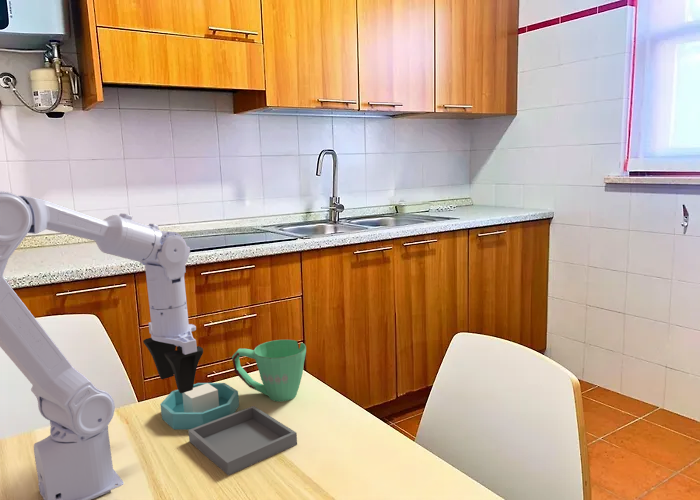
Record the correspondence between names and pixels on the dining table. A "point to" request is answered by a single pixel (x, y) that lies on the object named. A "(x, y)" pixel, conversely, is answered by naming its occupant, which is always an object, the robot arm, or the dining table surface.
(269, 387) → the mug
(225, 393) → the bowl
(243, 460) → the parts tray
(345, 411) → the dining table surface
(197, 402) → the off-white smooth cube
